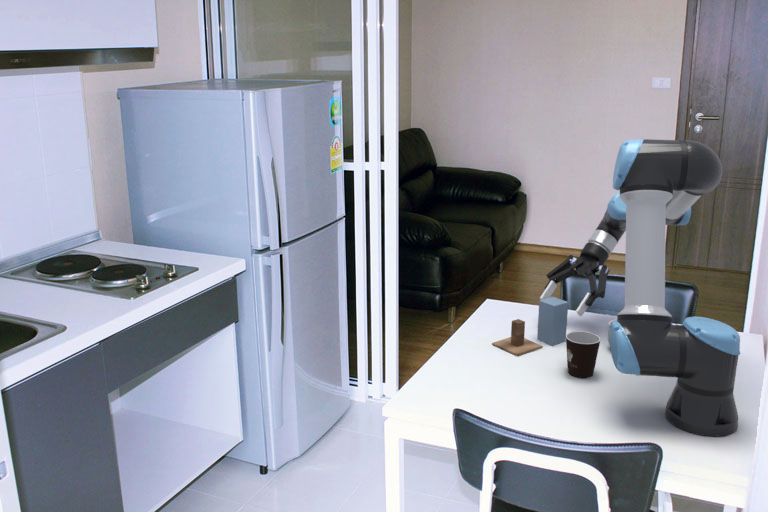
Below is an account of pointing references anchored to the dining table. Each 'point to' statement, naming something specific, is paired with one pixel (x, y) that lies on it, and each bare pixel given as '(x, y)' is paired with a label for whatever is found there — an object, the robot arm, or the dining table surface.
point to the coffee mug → (581, 353)
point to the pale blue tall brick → (552, 321)
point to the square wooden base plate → (517, 340)
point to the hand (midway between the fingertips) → (560, 307)
